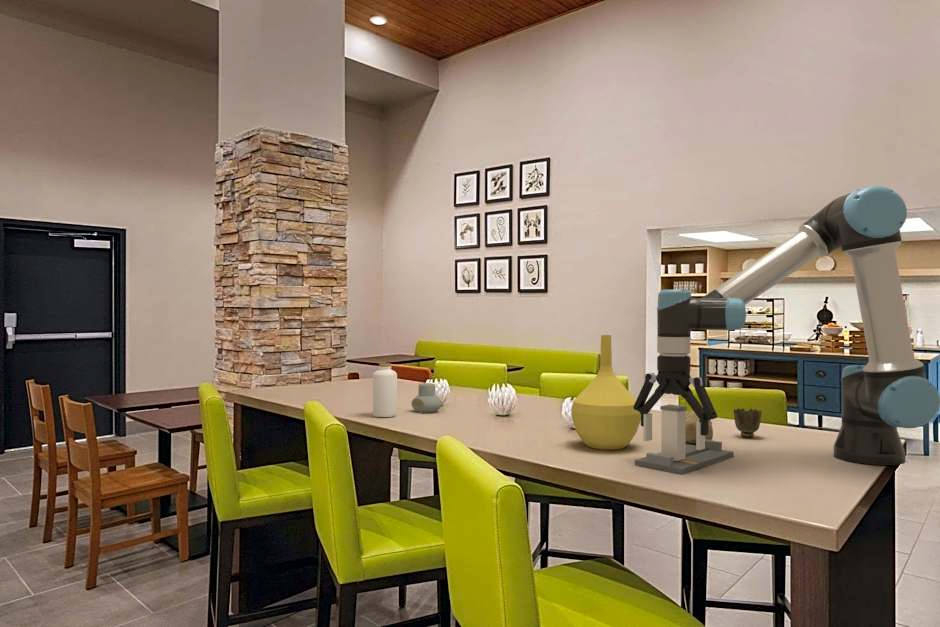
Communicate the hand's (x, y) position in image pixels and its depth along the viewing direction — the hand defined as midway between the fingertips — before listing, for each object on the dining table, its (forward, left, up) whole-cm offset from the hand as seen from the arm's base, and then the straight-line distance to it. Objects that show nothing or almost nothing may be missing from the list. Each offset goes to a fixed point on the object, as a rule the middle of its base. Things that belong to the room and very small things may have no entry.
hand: (673, 444), depth 153 cm
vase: (+23, -6, -5) cm, 24 cm away
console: (0, -6, -5) cm, 8 cm away
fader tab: (0, 0, -3) cm, 3 cm away
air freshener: (+101, -9, -5) cm, 102 cm away
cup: (+2, -46, -5) cm, 46 cm away
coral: (+9, -28, -5) cm, 30 cm away
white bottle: (+103, +8, -5) cm, 103 cm away
